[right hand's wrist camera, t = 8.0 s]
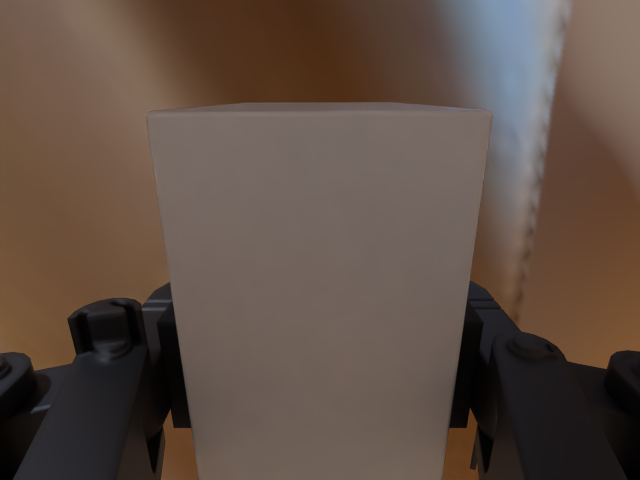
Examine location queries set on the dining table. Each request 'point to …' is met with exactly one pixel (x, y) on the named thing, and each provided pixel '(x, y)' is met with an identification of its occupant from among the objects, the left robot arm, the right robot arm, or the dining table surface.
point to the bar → (319, 281)
